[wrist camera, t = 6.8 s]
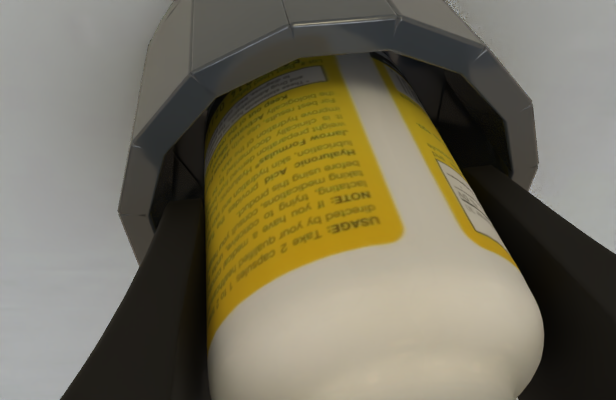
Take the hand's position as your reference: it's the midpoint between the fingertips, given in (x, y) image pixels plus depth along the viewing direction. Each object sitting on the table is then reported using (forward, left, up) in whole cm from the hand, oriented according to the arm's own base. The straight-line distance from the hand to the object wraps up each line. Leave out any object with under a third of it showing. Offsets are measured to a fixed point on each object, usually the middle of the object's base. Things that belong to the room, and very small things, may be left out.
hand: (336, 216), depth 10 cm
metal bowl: (0, 0, -4) cm, 4 cm away
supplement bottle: (0, 0, -4) cm, 4 cm away
